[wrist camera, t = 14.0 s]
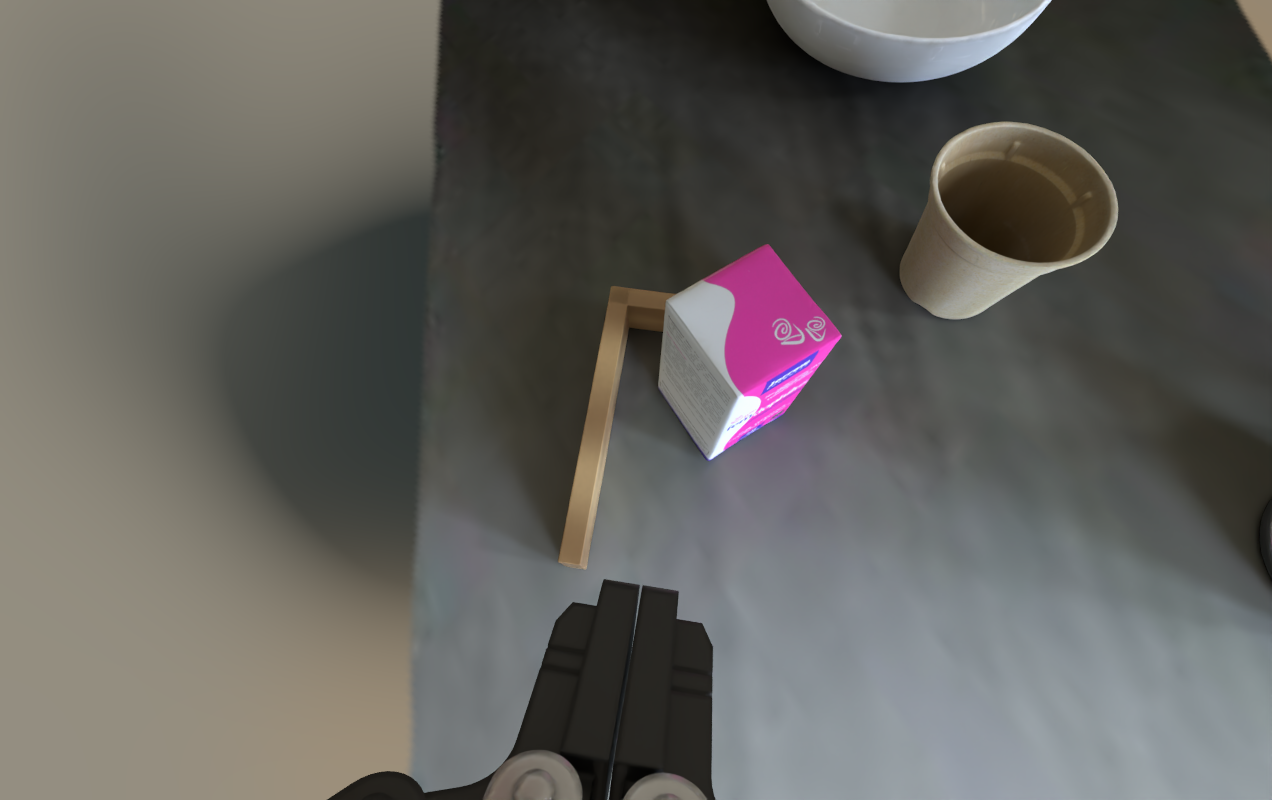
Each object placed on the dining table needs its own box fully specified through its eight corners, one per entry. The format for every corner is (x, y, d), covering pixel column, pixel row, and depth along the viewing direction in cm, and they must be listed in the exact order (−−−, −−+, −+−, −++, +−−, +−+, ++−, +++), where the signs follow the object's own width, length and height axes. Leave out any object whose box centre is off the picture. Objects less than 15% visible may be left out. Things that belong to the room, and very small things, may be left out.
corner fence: (614, 309, 39) (611, 285, 36) (779, 330, 38) (789, 307, 35) (565, 566, 33) (557, 561, 30) (757, 597, 33) (767, 595, 30)
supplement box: (709, 466, 35) (735, 401, 24) (655, 387, 37) (657, 294, 26) (788, 417, 36) (846, 333, 25) (732, 342, 38) (764, 234, 27)
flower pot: (959, 198, 41) (1034, 96, 33) (1051, 304, 38) (1159, 219, 30) (846, 254, 40) (895, 161, 32) (932, 367, 37) (1012, 297, 29)
